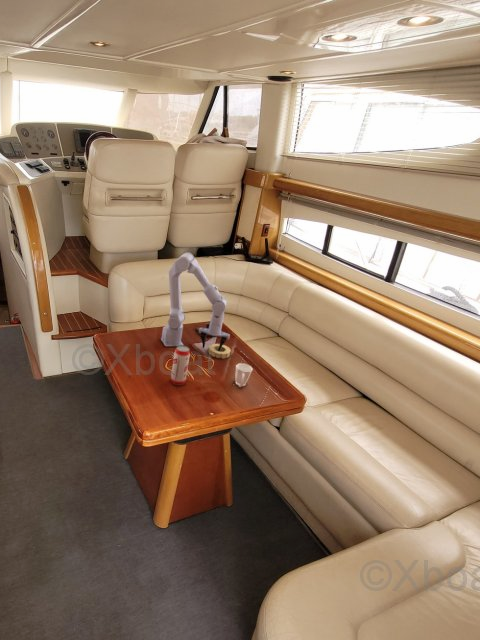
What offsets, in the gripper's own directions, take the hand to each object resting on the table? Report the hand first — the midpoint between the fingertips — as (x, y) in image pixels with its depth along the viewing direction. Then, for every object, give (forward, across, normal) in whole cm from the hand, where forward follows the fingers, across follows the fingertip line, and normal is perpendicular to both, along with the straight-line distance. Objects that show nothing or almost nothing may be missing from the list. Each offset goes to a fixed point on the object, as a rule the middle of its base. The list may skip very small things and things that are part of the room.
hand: (211, 348), depth 187 cm
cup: (+2, -17, +25) cm, 30 cm away
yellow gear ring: (+1, -4, 0) cm, 4 cm away
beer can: (+2, +8, +34) cm, 35 cm away
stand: (+1, +6, -20) cm, 21 cm away
